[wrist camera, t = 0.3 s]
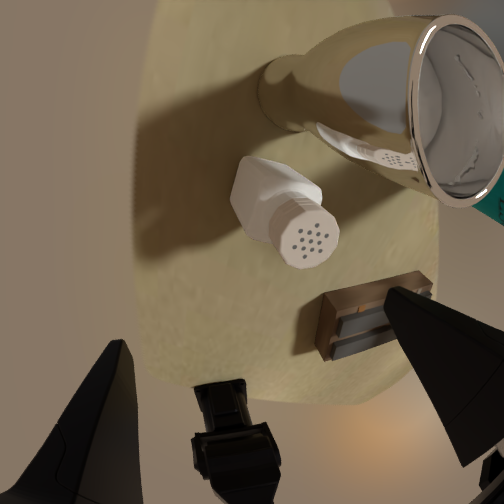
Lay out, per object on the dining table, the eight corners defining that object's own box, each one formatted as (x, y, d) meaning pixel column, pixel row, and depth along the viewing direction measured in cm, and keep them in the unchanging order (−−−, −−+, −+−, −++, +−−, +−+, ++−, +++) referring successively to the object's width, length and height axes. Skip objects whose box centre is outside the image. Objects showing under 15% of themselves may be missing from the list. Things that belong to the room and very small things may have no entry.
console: (418, 270, 32) (437, 287, 28) (401, 317, 36) (416, 334, 32) (324, 292, 29) (340, 316, 26) (314, 343, 33) (326, 366, 30)
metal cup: (233, 72, 17) (363, 20, 4) (314, 37, 16) (491, 7, 4) (278, 152, 20) (426, 252, 8) (350, 114, 20) (520, 168, 7)
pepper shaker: (240, 152, 20) (286, 193, 12) (289, 164, 21) (358, 211, 13) (226, 202, 21) (259, 272, 14) (274, 211, 23) (329, 279, 15)
